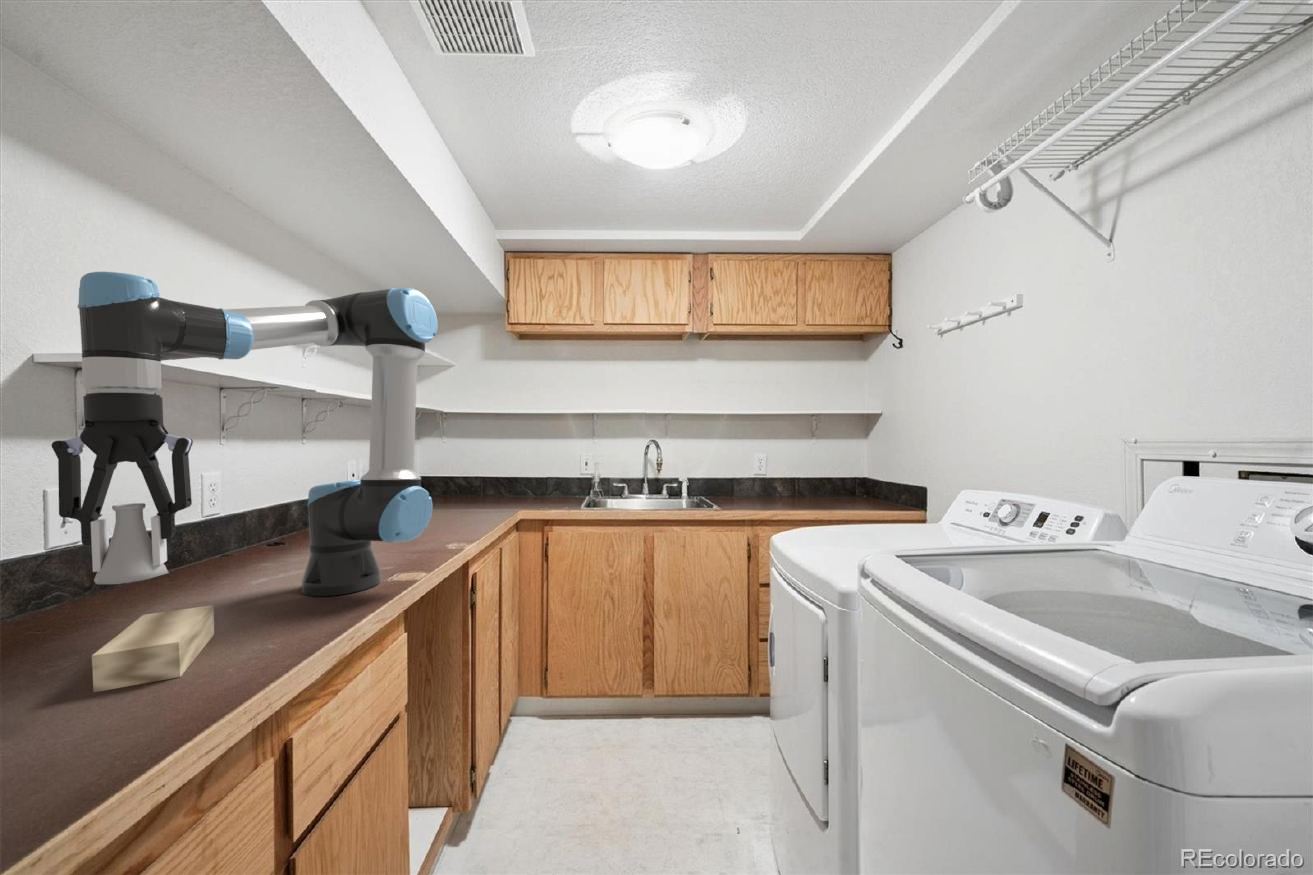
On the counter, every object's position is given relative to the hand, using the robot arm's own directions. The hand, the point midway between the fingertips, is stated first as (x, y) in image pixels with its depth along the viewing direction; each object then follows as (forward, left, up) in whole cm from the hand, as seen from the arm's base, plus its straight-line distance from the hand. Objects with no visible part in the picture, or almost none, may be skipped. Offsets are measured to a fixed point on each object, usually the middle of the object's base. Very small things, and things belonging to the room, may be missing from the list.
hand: (131, 565), depth 73 cm
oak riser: (0, -11, -17) cm, 20 cm away
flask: (0, 0, -2) cm, 2 cm away
